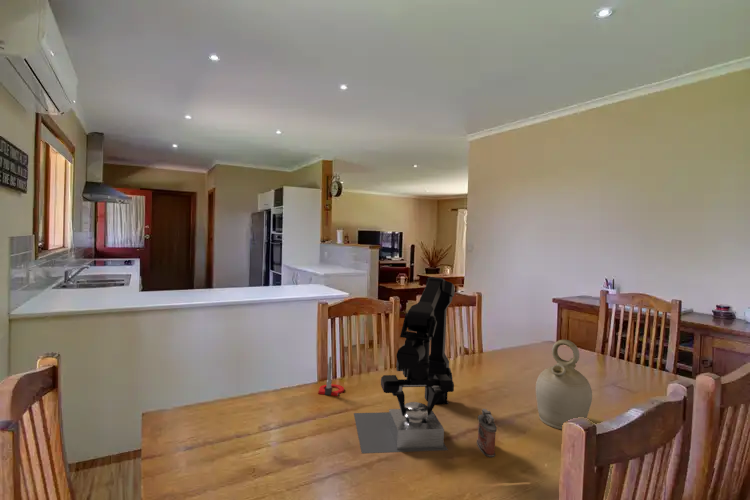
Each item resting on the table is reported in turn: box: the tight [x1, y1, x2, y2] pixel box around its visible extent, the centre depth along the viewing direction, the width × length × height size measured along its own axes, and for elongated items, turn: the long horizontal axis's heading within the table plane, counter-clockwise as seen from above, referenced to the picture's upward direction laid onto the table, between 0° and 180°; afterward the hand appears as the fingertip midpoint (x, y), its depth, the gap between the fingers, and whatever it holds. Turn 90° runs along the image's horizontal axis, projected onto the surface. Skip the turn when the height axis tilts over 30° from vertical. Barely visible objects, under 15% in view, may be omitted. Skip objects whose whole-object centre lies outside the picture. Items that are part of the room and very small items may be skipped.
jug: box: [535, 339, 593, 431], centre depth 122 cm, size 15×16×25 cm
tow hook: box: [318, 356, 345, 397], centre depth 138 cm, size 8×13×9 cm
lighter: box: [476, 408, 498, 458], centre depth 104 cm, size 8×3×10 cm, turn 5°
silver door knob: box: [404, 401, 428, 423], centre depth 109 cm, size 6×6×6 cm
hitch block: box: [388, 408, 445, 450], centre depth 109 cm, size 12×12×5 cm
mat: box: [353, 411, 449, 454], centre depth 112 cm, size 22×22×1 cm
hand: (415, 414), depth 109 cm, fingers open, 7 cm apart
